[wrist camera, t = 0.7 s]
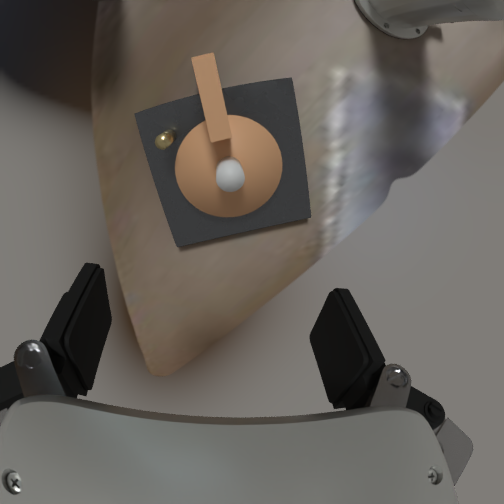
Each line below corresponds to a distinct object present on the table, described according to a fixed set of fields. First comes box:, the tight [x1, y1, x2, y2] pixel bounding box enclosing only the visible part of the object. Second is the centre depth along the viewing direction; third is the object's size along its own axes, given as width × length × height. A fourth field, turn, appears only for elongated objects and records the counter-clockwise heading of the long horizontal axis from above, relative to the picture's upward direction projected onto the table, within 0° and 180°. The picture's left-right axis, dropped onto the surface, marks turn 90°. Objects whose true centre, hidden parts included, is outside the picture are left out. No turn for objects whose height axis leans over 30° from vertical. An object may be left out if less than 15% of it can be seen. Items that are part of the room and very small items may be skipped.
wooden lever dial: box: [175, 53, 282, 217], centre depth 27 cm, size 12×18×6 cm, turn 11°
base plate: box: [135, 78, 311, 247], centre depth 30 cm, size 18×18×6 cm
